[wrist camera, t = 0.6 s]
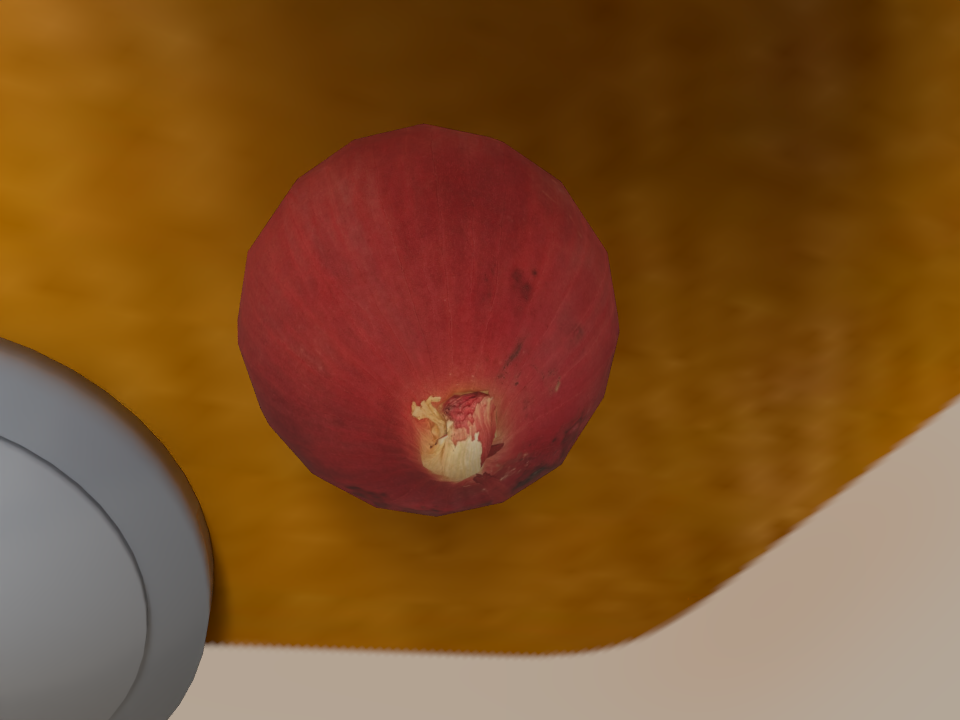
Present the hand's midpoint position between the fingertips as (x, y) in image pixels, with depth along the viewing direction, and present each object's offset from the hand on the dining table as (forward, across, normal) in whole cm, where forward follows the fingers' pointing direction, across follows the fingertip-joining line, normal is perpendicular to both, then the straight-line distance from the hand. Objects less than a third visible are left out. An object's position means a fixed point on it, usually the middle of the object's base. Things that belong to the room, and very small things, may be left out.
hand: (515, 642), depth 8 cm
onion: (+11, 0, 0) cm, 11 cm away
